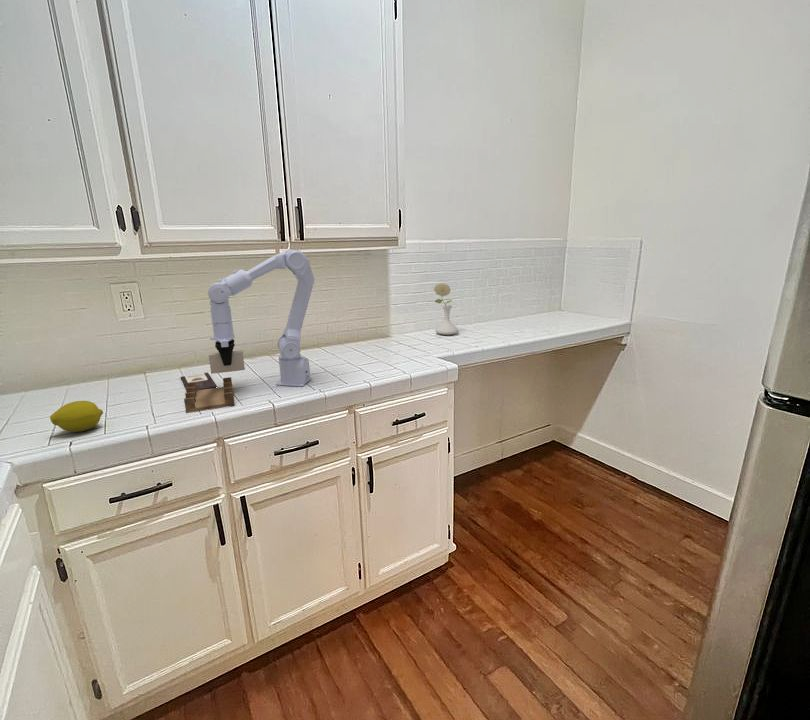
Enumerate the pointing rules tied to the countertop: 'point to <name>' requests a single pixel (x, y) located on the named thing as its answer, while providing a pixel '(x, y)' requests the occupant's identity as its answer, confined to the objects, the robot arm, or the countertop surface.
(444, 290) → the flower in vase
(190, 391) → the pegged wooden tray
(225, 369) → the clay slab
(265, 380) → the countertop surface
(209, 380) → the chocolate bar
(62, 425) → the lemon
